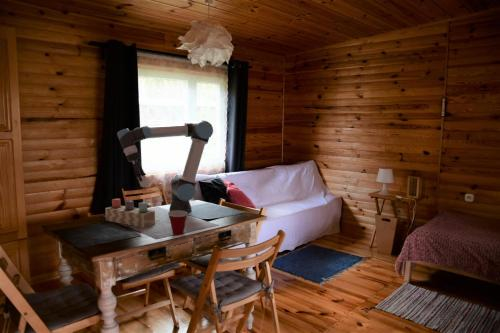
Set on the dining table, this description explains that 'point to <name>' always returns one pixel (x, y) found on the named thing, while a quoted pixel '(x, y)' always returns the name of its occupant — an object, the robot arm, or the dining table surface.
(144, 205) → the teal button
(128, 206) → the grey button
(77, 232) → the dining table surface
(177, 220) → the plastic cup
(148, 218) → the control box
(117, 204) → the red button
